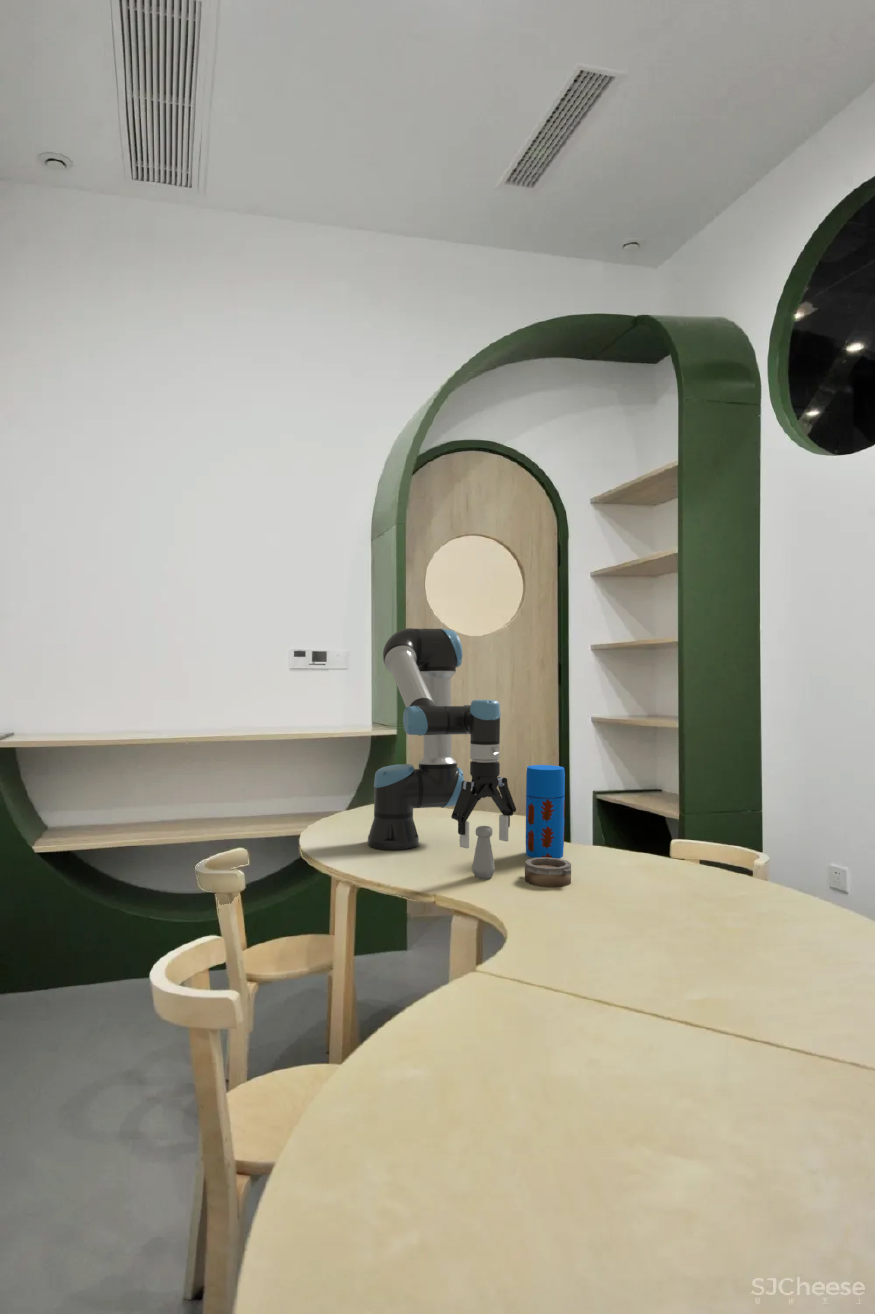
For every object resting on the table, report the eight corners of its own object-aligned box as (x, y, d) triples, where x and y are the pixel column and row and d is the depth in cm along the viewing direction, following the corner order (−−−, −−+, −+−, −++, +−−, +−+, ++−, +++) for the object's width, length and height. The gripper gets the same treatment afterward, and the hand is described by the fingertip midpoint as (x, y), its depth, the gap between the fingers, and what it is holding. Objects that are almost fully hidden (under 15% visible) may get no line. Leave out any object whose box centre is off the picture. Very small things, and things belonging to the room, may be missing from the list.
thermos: (565, 860, 229) (567, 770, 229) (527, 859, 229) (528, 769, 229) (560, 850, 240) (561, 765, 240) (524, 850, 240) (525, 764, 240)
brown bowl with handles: (511, 878, 209) (511, 860, 209) (543, 871, 217) (543, 854, 217) (552, 891, 198) (553, 872, 198) (584, 883, 206) (584, 865, 206)
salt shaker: (493, 881, 206) (493, 829, 206) (470, 879, 208) (471, 828, 208) (496, 875, 212) (496, 824, 212) (474, 873, 213) (474, 823, 213)
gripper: (457, 765, 199) (456, 853, 199) (529, 758, 215) (529, 840, 214) (437, 762, 205) (437, 847, 204) (509, 756, 221) (509, 835, 220)
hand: (484, 844), depth 209 cm, fingers open, 13 cm apart
